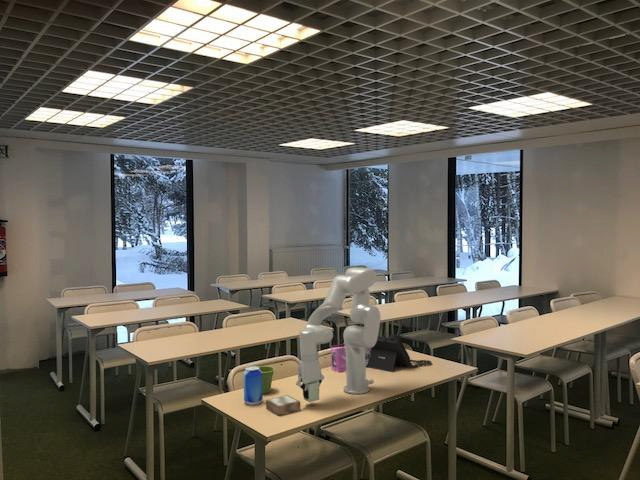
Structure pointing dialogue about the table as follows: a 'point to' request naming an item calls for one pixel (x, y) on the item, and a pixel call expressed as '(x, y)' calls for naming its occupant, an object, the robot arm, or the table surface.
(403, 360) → the office phone
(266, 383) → the plant pot
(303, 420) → the table surface
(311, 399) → the green block
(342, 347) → the gum box
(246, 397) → the beer can
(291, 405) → the base block
